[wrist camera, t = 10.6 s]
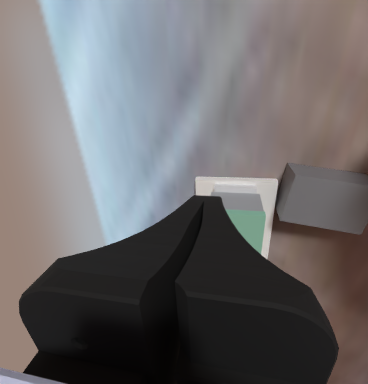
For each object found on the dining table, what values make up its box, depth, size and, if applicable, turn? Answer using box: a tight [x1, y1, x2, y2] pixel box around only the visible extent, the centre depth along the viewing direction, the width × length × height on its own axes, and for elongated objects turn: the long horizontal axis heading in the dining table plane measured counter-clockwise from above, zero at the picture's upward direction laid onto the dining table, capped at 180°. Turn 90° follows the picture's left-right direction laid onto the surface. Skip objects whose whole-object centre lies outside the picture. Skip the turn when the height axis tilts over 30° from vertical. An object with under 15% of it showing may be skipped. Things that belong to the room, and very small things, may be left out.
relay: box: [275, 163, 368, 235], centre depth 18 cm, size 6×4×3 cm, turn 84°
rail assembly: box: [195, 177, 278, 259], centre depth 21 cm, size 7×15×5 cm, turn 2°
